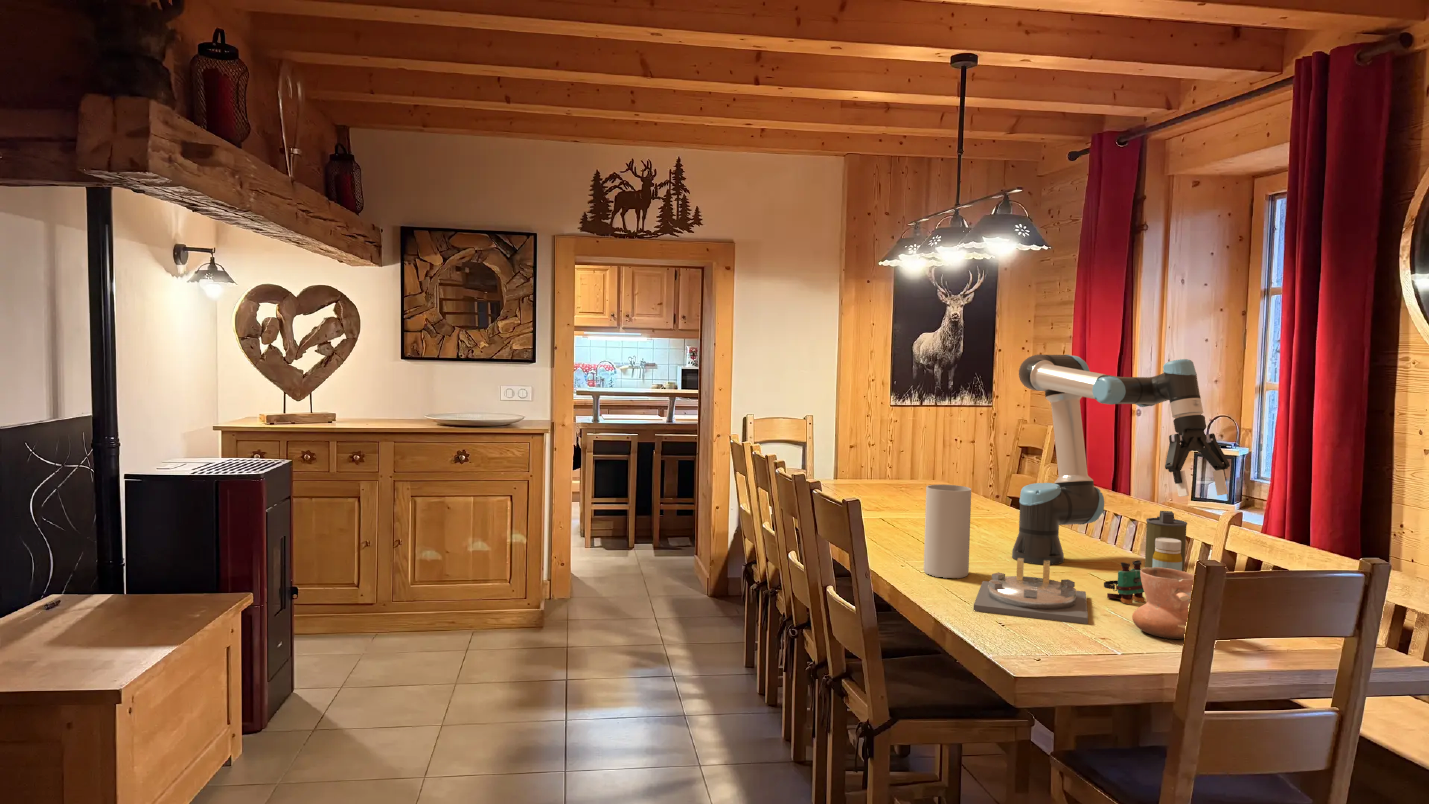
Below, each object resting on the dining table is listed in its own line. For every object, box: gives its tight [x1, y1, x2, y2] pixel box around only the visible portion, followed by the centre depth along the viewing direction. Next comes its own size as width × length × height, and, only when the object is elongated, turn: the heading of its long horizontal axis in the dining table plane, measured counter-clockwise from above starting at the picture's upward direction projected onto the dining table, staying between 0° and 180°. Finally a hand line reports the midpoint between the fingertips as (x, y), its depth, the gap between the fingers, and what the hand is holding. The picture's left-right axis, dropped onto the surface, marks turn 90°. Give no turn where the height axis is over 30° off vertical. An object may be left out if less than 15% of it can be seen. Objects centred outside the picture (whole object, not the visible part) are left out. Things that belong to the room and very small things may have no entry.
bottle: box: [1152, 538, 1182, 571], centre depth 239 cm, size 7×7×15 cm
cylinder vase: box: [923, 484, 972, 579], centre depth 258 cm, size 12×12×25 cm
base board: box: [973, 580, 1089, 625], centre depth 229 cm, size 26×26×2 cm
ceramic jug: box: [1131, 567, 1195, 640], centre depth 206 cm, size 18×14×14 cm
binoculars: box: [1103, 559, 1146, 605], centre depth 235 cm, size 9×11×10 cm
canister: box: [1144, 510, 1188, 572], centre depth 254 cm, size 11×10×20 cm
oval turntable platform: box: [988, 558, 1077, 610], centre depth 229 cm, size 21×21×8 cm
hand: (1203, 495), depth 237 cm, fingers open, 13 cm apart
